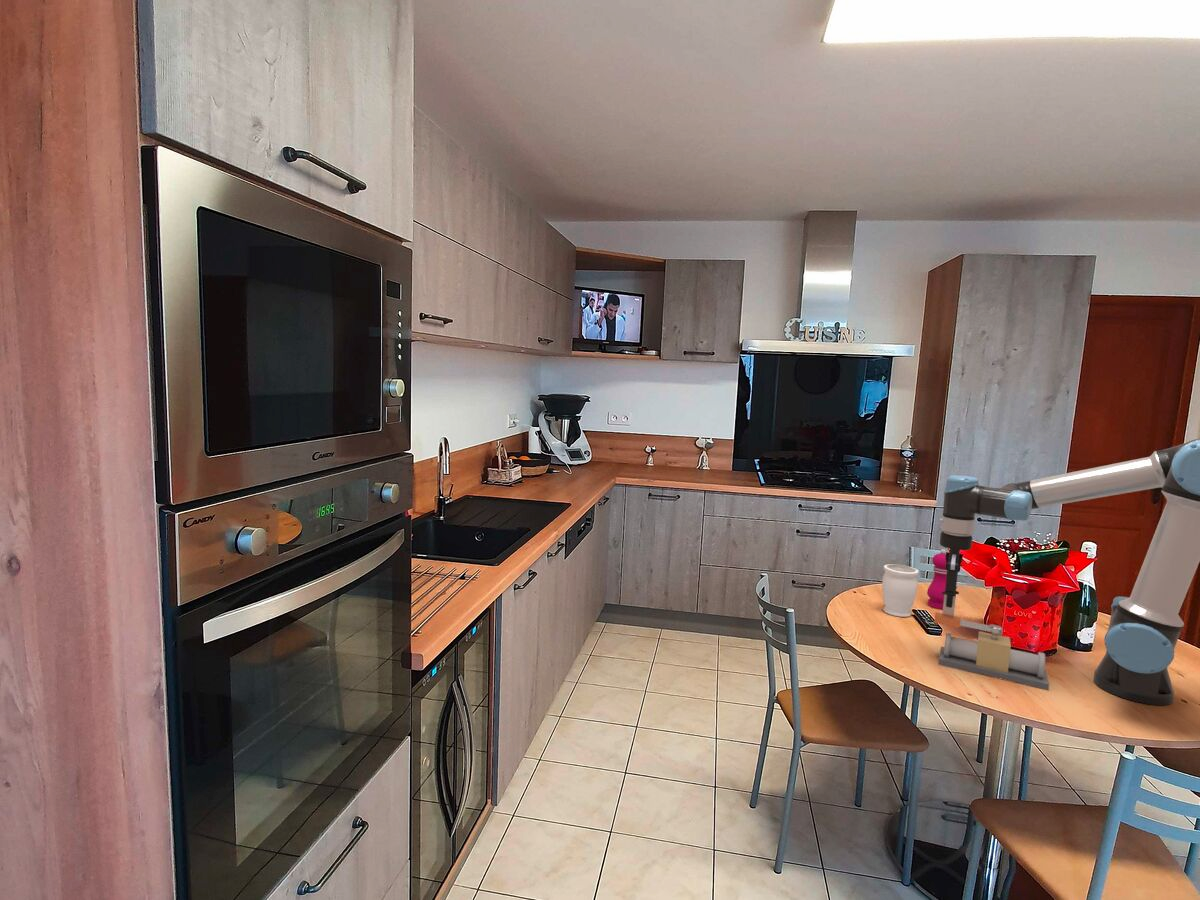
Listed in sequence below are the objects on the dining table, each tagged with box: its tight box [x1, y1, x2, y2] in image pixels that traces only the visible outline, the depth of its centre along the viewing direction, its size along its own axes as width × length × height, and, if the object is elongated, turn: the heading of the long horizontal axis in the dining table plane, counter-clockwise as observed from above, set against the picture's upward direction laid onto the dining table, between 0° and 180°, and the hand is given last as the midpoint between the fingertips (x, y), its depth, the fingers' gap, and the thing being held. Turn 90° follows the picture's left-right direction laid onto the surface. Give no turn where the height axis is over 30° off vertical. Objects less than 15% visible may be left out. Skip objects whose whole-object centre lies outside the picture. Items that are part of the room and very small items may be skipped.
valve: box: [938, 630, 1050, 691], centre depth 164 cm, size 24×10×10 cm, turn 58°
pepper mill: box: [926, 548, 947, 611], centre depth 212 cm, size 7×7×20 cm
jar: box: [881, 563, 919, 618], centre depth 204 cm, size 11×10×15 cm
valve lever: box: [933, 612, 1003, 636], centre depth 167 cm, size 16×3×2 cm, turn 58°
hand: (947, 617), depth 171 cm, fingers closed
